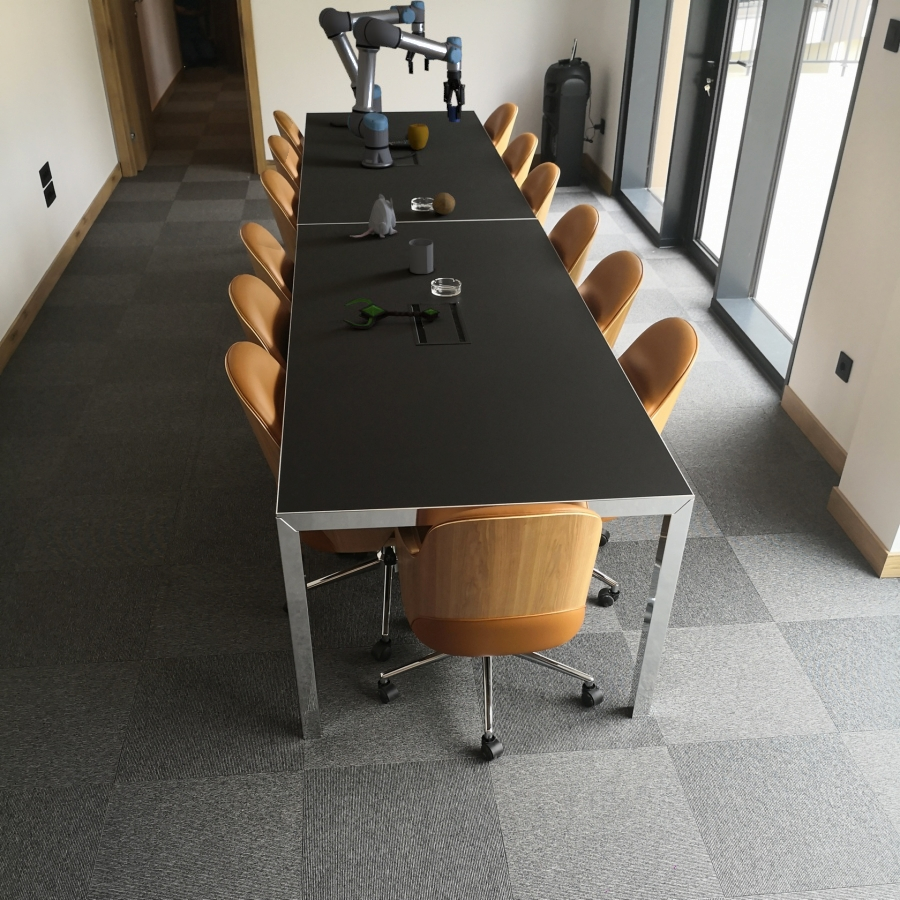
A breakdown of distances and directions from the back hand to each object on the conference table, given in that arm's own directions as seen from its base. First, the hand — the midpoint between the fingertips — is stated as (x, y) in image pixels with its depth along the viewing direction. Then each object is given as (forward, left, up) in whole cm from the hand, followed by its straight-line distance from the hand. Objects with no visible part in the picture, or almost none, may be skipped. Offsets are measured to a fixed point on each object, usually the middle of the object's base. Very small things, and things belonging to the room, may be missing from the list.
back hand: (418, 72), depth 498 cm
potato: (+125, -127, -27) cm, 180 cm away
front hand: (+54, -34, -12) cm, 65 cm away
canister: (+54, -34, -14) cm, 65 cm away
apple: (+44, -52, -27) cm, 73 cm away
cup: (+160, -182, -27) cm, 244 cm away
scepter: (+182, -221, -27) cm, 288 cm away
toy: (+123, -168, -27) cm, 210 cm away
